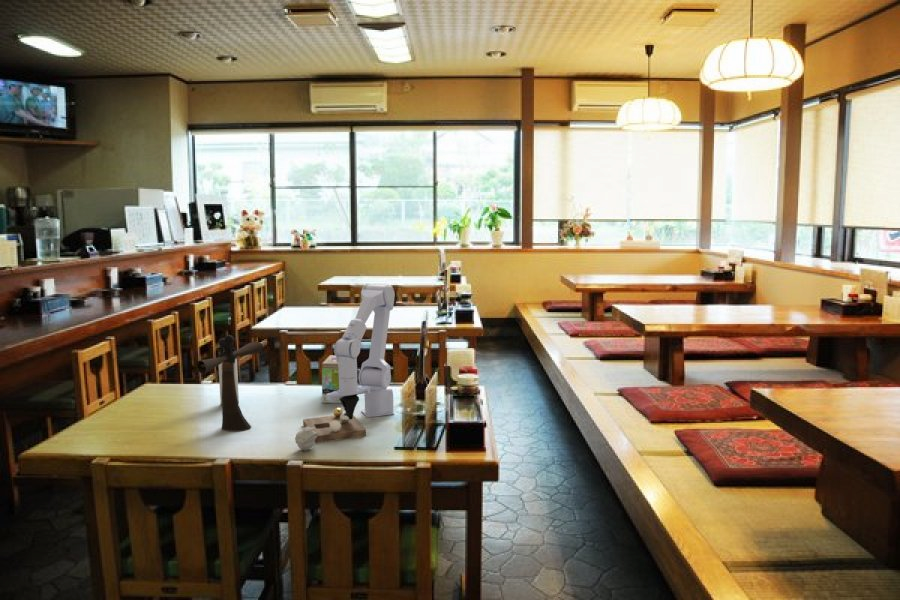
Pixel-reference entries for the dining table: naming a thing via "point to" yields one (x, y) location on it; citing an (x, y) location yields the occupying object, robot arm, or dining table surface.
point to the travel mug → (234, 376)
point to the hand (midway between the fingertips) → (349, 418)
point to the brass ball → (337, 412)
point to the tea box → (330, 378)
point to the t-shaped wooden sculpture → (230, 381)
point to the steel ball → (344, 418)
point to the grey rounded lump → (306, 438)
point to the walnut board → (326, 434)
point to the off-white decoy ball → (335, 426)
